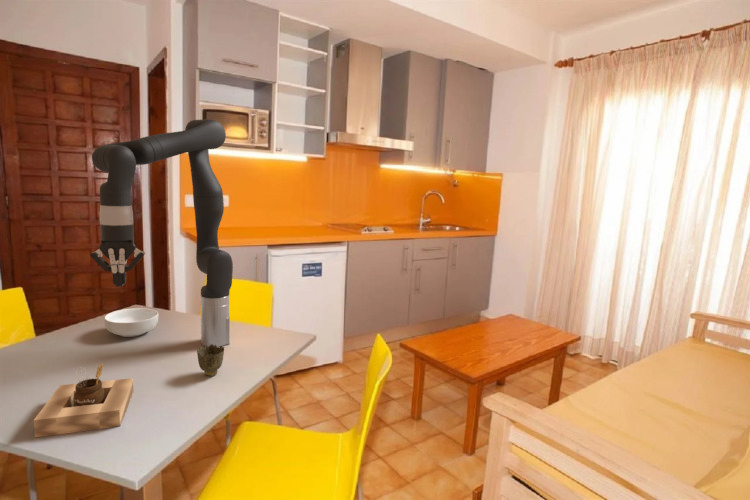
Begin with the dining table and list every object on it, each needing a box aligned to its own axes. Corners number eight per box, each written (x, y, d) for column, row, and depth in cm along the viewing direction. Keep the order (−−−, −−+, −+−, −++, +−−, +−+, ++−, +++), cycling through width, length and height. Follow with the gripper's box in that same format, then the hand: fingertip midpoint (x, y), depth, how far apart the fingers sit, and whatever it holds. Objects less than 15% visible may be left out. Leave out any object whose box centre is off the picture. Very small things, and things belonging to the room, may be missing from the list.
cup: (229, 372, 124) (229, 346, 123) (212, 382, 118) (212, 355, 116) (209, 367, 127) (209, 342, 126) (191, 377, 120) (191, 351, 119)
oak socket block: (133, 392, 110) (133, 378, 109) (120, 426, 95) (119, 410, 95) (61, 400, 104) (60, 385, 104) (34, 437, 90) (33, 420, 89)
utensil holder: (87, 403, 103) (84, 357, 101) (111, 404, 103) (109, 359, 101) (68, 416, 97) (65, 368, 95) (94, 418, 97) (92, 370, 95)
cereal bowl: (142, 343, 141) (141, 323, 140) (93, 340, 141) (92, 320, 140) (167, 326, 158) (167, 308, 157) (124, 323, 158) (123, 306, 157)
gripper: (147, 221, 116) (149, 281, 118) (91, 220, 111) (95, 283, 114) (142, 224, 109) (145, 288, 111) (83, 223, 104) (87, 290, 107)
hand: (119, 285), depth 113 cm, fingers closed
